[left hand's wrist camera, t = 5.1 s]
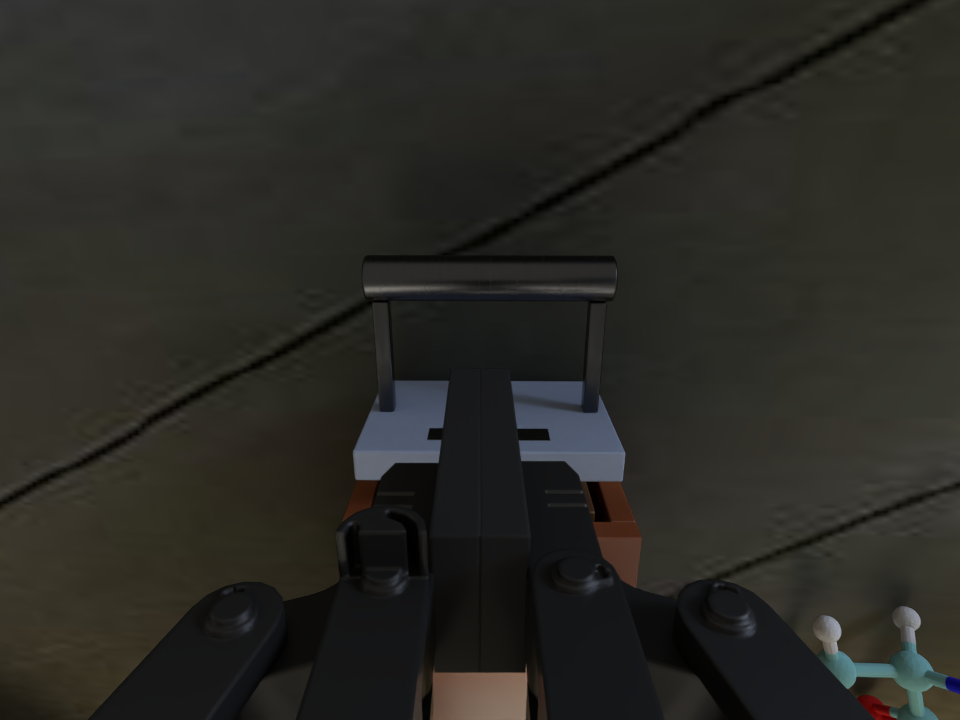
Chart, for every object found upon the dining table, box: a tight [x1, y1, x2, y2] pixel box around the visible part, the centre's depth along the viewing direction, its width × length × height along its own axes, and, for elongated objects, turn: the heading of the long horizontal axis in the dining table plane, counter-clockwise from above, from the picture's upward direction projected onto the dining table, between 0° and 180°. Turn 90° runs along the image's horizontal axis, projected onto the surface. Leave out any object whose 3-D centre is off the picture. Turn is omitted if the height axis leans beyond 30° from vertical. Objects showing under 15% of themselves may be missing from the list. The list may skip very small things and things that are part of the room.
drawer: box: [353, 255, 625, 522], centre depth 24 cm, size 21×9×6 cm, turn 0°
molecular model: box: [812, 606, 960, 720], centre depth 29 cm, size 12×10×10 cm
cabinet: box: [340, 480, 642, 720], centre depth 27 cm, size 16×11×8 cm, turn 0°
